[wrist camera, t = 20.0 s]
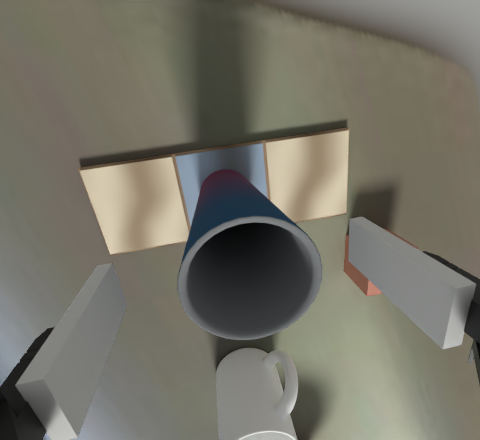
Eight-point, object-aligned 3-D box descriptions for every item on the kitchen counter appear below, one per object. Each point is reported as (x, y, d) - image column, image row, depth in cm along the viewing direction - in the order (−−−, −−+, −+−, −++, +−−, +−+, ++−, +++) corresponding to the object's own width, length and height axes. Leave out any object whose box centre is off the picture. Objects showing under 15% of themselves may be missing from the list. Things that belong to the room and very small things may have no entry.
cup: (244, 148, 25) (299, 190, 11) (268, 210, 27) (336, 308, 13) (178, 177, 25) (148, 255, 11) (208, 236, 27) (214, 359, 14)
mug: (257, 316, 33) (278, 396, 24) (303, 340, 36) (339, 421, 26) (203, 376, 36) (203, 470, 26) (250, 395, 39) (265, 486, 29)
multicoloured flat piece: (111, 252, 28) (109, 256, 27) (80, 167, 24) (77, 168, 23) (344, 212, 29) (347, 214, 29) (346, 127, 26) (350, 127, 25)
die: (343, 270, 33) (368, 297, 28) (345, 234, 31) (372, 256, 26) (381, 264, 33) (411, 289, 28) (385, 228, 31) (419, 248, 26)
